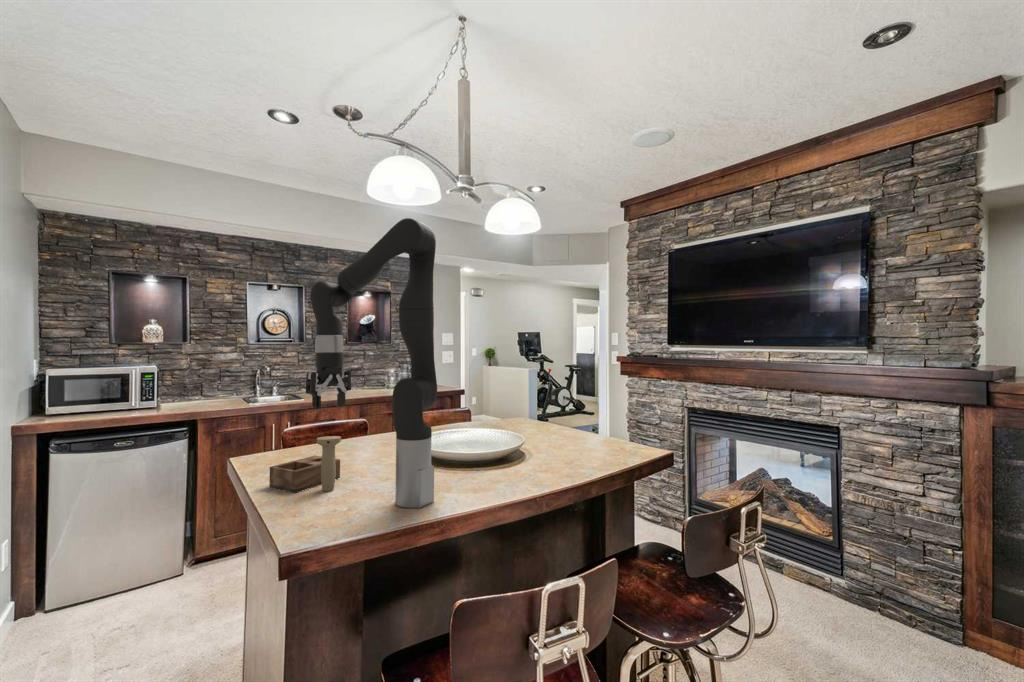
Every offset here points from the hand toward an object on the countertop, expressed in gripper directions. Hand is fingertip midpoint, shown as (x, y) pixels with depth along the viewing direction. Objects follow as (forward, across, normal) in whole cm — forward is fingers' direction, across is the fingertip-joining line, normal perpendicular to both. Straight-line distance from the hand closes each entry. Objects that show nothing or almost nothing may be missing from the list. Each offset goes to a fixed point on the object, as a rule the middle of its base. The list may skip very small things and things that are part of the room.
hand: (329, 407), depth 130 cm
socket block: (+24, +2, +12) cm, 26 cm away
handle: (+24, 0, 0) cm, 24 cm away
